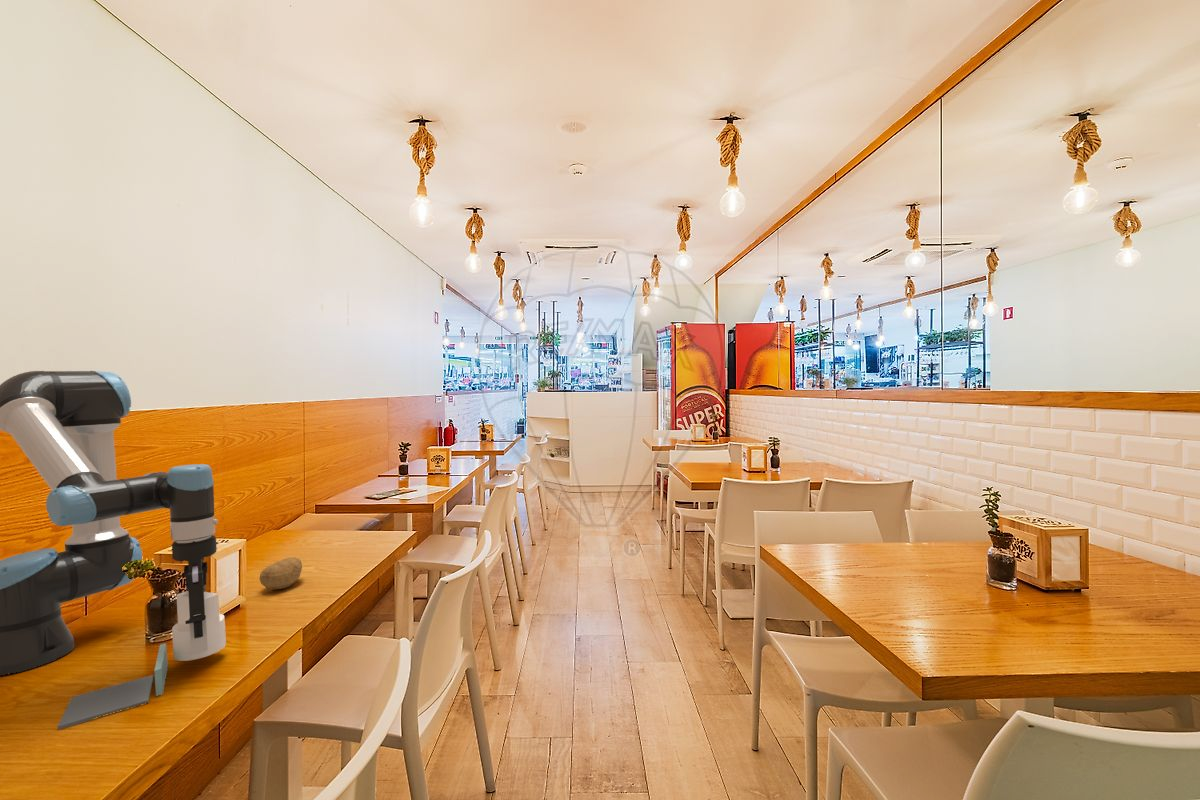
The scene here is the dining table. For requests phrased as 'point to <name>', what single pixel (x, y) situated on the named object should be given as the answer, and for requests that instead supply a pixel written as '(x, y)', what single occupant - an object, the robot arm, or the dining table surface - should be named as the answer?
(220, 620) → the cylinder with rectangular tab
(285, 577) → the potato
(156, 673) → the panel
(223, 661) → the dining table surface
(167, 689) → the dining table surface
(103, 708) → the coaster
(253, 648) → the dining table surface
